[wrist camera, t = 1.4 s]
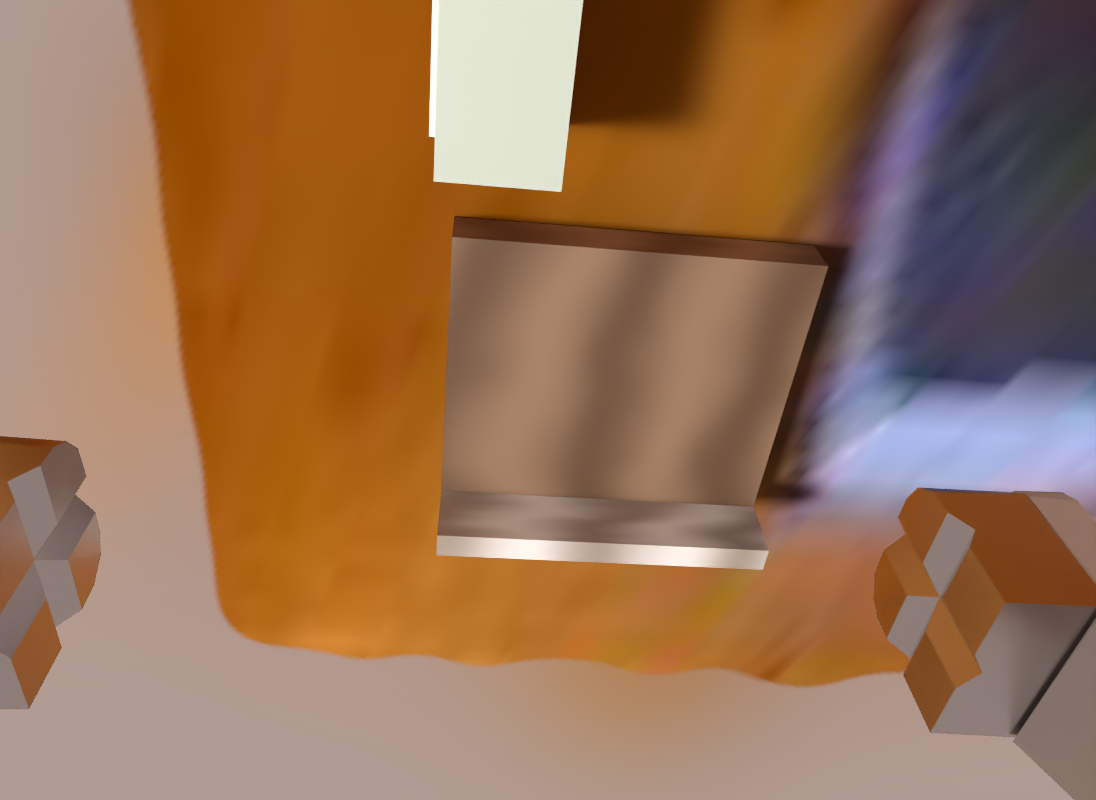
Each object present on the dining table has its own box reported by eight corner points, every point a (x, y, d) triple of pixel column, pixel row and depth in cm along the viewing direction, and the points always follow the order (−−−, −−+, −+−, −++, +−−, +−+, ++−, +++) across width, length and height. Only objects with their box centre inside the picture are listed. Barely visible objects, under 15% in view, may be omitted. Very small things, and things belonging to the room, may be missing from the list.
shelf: (813, 245, 36) (853, 301, 32) (736, 504, 44) (760, 575, 40) (454, 216, 35) (447, 271, 31) (443, 489, 43) (436, 561, 39)
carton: (576, -119, 28) (594, -99, 23) (551, 124, 33) (561, 191, 27) (446, -134, 28) (432, -118, 22) (439, 114, 33) (425, 180, 27)
